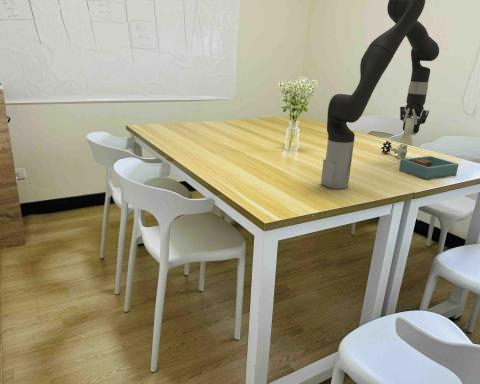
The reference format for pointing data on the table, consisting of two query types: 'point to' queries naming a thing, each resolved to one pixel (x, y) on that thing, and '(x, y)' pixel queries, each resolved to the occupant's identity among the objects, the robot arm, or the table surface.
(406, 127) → the ceramic capsule
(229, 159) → the table surface
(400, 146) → the valve
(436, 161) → the tote
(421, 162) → the walnut cube
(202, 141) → the table surface
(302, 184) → the table surface
